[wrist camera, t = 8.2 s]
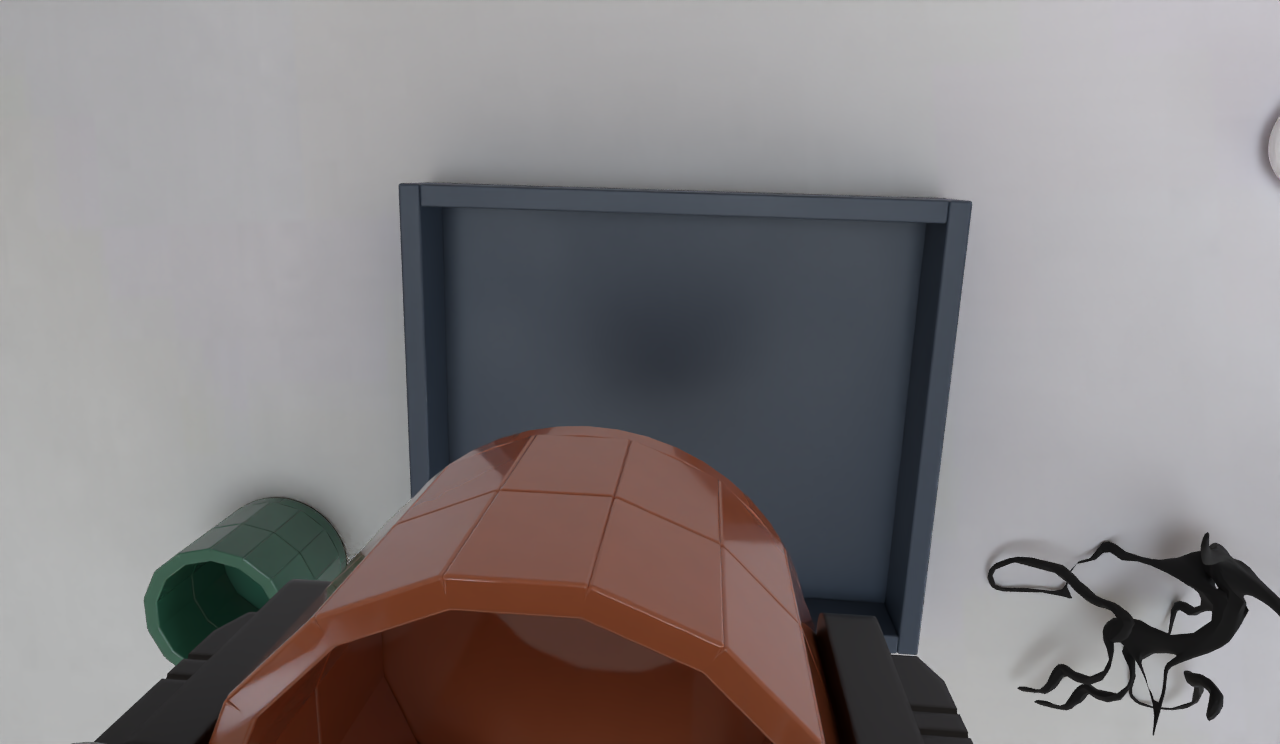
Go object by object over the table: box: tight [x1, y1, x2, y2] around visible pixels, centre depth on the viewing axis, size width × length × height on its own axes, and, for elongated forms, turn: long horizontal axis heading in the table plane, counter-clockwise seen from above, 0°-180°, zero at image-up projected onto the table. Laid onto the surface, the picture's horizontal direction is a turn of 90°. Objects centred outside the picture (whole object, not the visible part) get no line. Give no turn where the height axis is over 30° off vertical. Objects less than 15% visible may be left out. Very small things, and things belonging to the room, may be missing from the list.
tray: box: [399, 183, 972, 655], centre depth 24 cm, size 15×13×2 cm
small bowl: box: [144, 498, 346, 666], centre depth 26 cm, size 4×4×4 cm
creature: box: [988, 532, 1280, 736], centre depth 24 cm, size 8×5×8 cm
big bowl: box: [209, 426, 842, 744], centre depth 10 cm, size 6×6×4 cm
